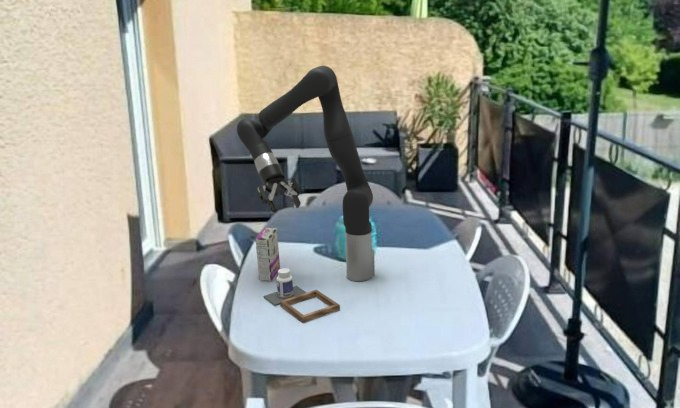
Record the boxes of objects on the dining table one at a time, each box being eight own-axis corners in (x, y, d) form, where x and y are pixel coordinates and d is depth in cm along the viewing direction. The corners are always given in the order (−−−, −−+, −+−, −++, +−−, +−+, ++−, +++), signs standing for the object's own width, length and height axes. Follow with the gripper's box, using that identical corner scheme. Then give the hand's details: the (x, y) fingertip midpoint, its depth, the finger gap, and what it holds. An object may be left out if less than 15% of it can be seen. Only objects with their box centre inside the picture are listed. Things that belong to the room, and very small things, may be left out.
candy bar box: (267, 268, 240) (264, 226, 235) (280, 269, 239) (277, 227, 234) (258, 281, 229) (254, 238, 224) (271, 282, 228) (268, 238, 223)
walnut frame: (316, 294, 218) (316, 289, 217) (340, 309, 207) (339, 304, 206) (280, 306, 210) (280, 301, 210) (302, 322, 199) (302, 317, 199)
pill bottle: (295, 292, 218) (294, 268, 216) (289, 299, 214) (288, 274, 211) (281, 290, 220) (279, 266, 217) (275, 297, 215) (273, 272, 213)
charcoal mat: (296, 287, 224) (296, 285, 223) (308, 295, 217) (308, 293, 217) (263, 297, 217) (263, 295, 217) (274, 306, 210) (274, 304, 210)
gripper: (253, 166, 213) (271, 208, 208) (290, 159, 221) (309, 199, 215) (247, 178, 219) (265, 219, 214) (283, 171, 227) (302, 210, 221)
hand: (287, 209), depth 214 cm, fingers open, 8 cm apart
